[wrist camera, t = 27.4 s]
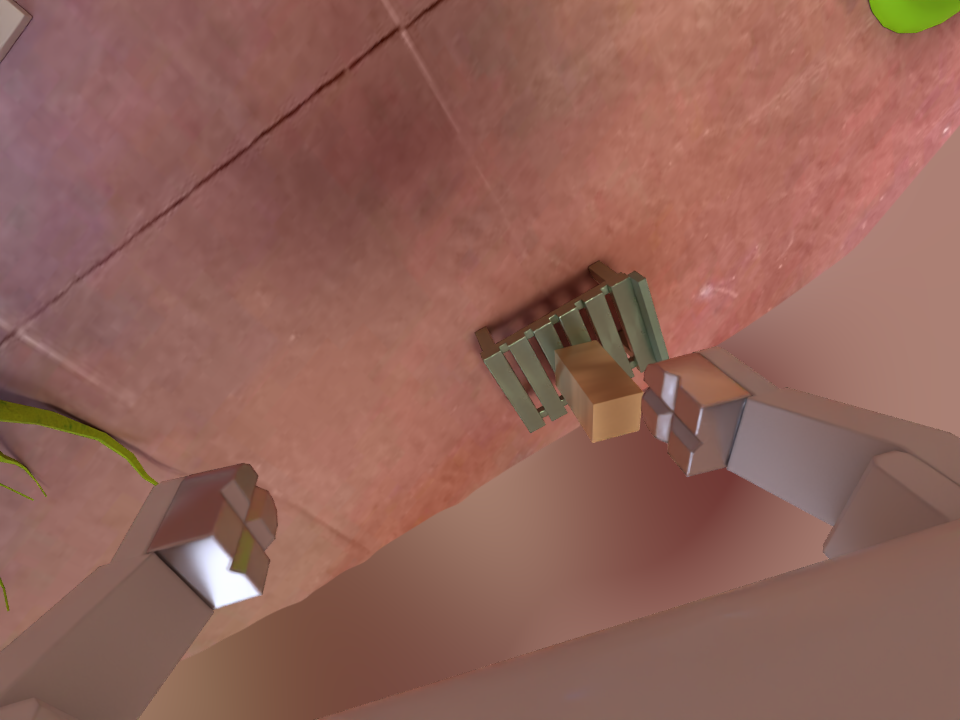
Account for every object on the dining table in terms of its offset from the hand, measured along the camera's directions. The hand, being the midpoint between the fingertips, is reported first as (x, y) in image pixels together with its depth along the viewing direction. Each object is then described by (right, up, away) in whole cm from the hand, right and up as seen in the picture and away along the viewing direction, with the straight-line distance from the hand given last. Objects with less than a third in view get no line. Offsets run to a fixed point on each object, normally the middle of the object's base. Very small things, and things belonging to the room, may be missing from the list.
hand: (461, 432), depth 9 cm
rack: (+9, +4, +40) cm, 41 cm away
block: (+10, +1, +35) cm, 36 cm away
